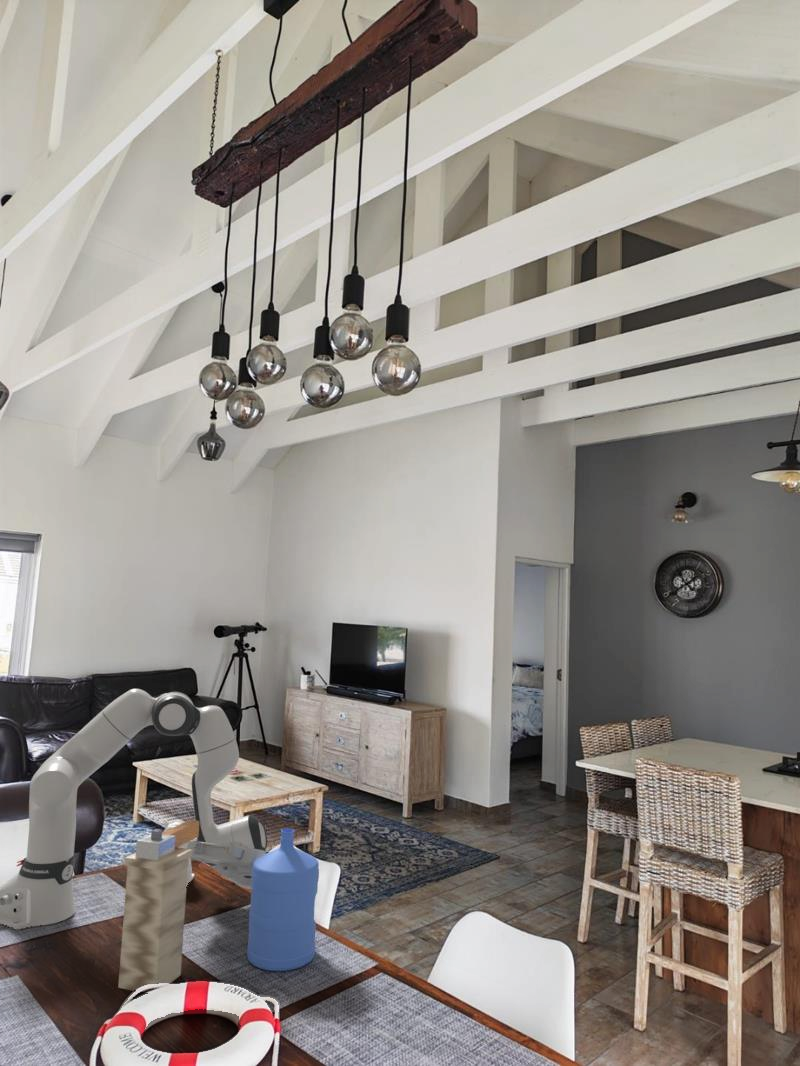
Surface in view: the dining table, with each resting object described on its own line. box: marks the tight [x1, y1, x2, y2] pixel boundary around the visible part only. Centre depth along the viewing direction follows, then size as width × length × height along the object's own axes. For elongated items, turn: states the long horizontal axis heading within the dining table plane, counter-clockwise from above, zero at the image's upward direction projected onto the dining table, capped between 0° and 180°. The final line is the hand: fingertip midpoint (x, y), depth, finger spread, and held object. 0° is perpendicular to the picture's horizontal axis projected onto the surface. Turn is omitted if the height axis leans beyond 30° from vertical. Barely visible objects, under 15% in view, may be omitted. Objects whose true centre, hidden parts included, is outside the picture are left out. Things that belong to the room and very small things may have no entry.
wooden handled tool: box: [135, 819, 199, 862], centre depth 159 cm, size 18×6×5 cm, turn 164°
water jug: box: [246, 828, 320, 972], centre depth 166 cm, size 16×16×28 cm
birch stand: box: [117, 847, 192, 992], centre depth 153 cm, size 10×10×26 cm
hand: (211, 846), depth 174 cm, fingers open, 8 cm apart
